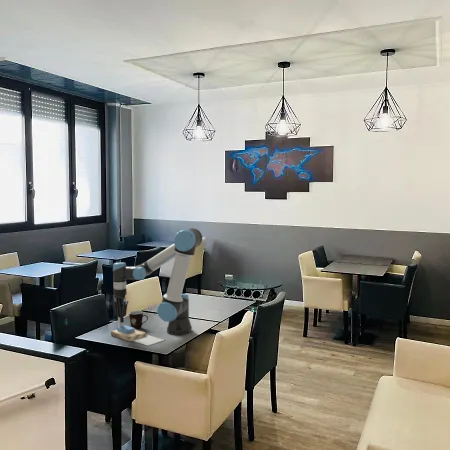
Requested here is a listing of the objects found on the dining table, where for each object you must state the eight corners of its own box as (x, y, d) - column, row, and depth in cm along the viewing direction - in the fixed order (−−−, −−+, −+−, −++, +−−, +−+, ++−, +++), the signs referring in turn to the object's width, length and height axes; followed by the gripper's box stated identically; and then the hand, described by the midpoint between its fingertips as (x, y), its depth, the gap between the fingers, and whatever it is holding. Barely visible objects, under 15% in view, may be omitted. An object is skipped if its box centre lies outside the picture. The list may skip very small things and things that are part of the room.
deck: (127, 330, 272) (127, 326, 272) (146, 336, 261) (146, 332, 260) (110, 335, 263) (110, 331, 263) (129, 341, 252) (129, 337, 251)
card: (117, 330, 264) (117, 327, 264) (125, 328, 268) (125, 325, 268) (126, 333, 258) (126, 330, 258) (134, 331, 262) (134, 328, 262)
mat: (148, 335, 262) (148, 335, 262) (164, 340, 253) (164, 340, 253) (132, 340, 253) (132, 340, 253) (147, 346, 244) (147, 345, 244)
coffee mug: (126, 328, 278) (126, 312, 277) (137, 325, 284) (137, 310, 284) (138, 332, 270) (137, 315, 269) (149, 328, 276) (148, 313, 276)
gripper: (108, 288, 267) (109, 326, 268) (121, 290, 258) (122, 330, 260) (118, 286, 273) (119, 324, 274) (131, 288, 264) (132, 328, 265)
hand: (120, 327), depth 267 cm, fingers closed
